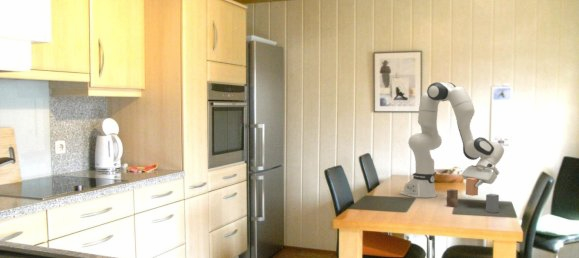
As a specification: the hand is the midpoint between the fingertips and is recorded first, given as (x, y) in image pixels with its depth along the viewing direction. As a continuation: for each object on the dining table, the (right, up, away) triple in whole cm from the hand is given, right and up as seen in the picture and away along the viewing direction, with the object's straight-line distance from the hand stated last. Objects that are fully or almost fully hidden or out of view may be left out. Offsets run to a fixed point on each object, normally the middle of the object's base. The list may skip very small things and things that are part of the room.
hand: (471, 186), depth 280 cm
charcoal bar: (+7, -12, -12) cm, 18 cm away
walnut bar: (-10, -11, +3) cm, 15 cm away
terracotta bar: (+1, -5, +1) cm, 5 cm away
